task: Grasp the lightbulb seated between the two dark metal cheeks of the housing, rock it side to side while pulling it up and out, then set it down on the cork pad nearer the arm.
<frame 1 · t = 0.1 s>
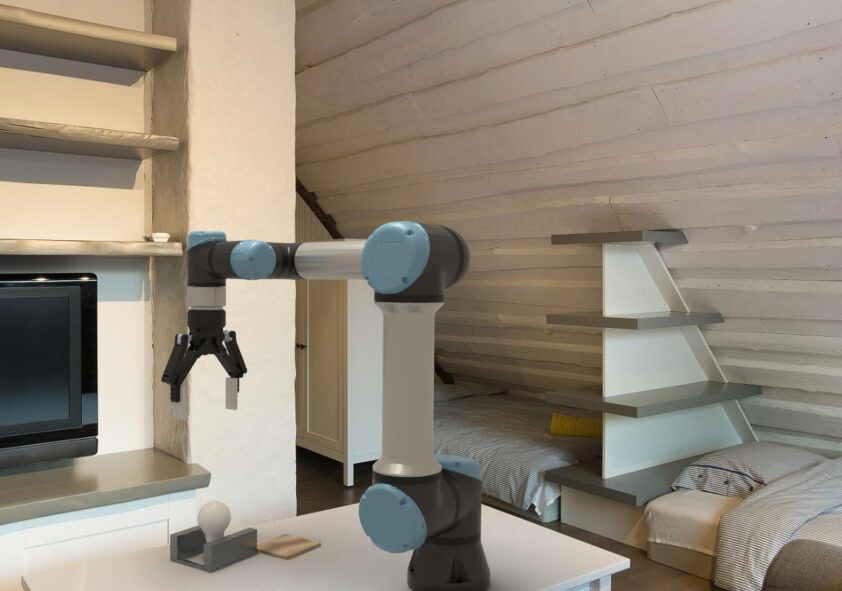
hand: (206, 413, 160), 28 cm above the table, fingers open, 13 cm apart
housing: (214, 557, 157), on the table
lightbulb: (214, 558, 157), resting in housing
cork pad: (286, 547, 163), on the table
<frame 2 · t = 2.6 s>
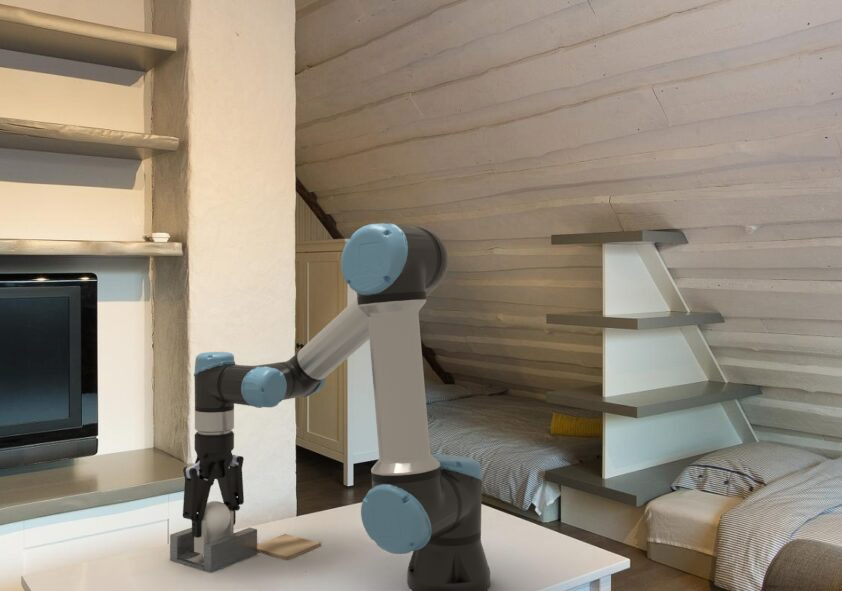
hand: (214, 547, 157), 2 cm above the table, fingers closed on lightbulb, 6 cm apart
lightbulb: (214, 558, 157), resting in housing, touching gripper
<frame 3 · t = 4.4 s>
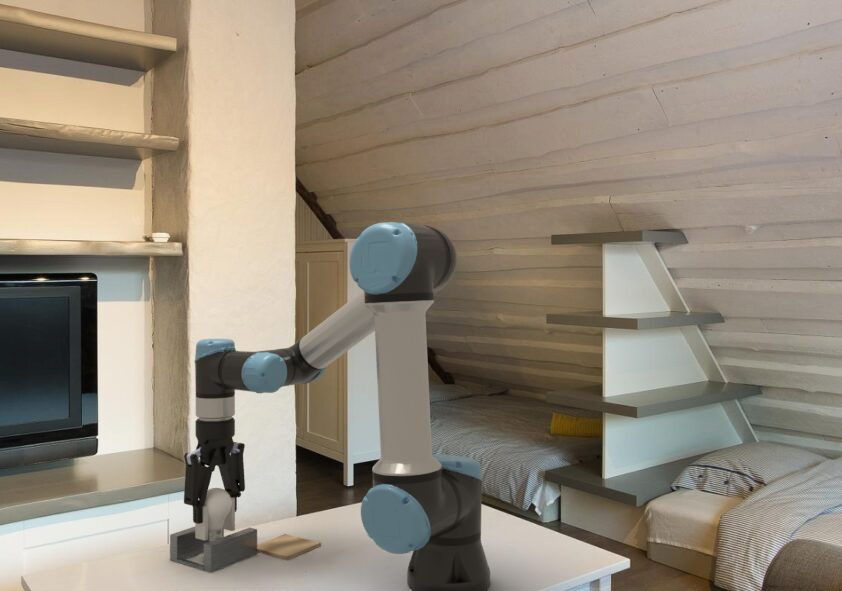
hand: (215, 533, 157), 5 cm above the table, fingers closed on lightbulb, 6 cm apart
lightbulb: (215, 544, 157), point 2 cm above the table, touching gripper
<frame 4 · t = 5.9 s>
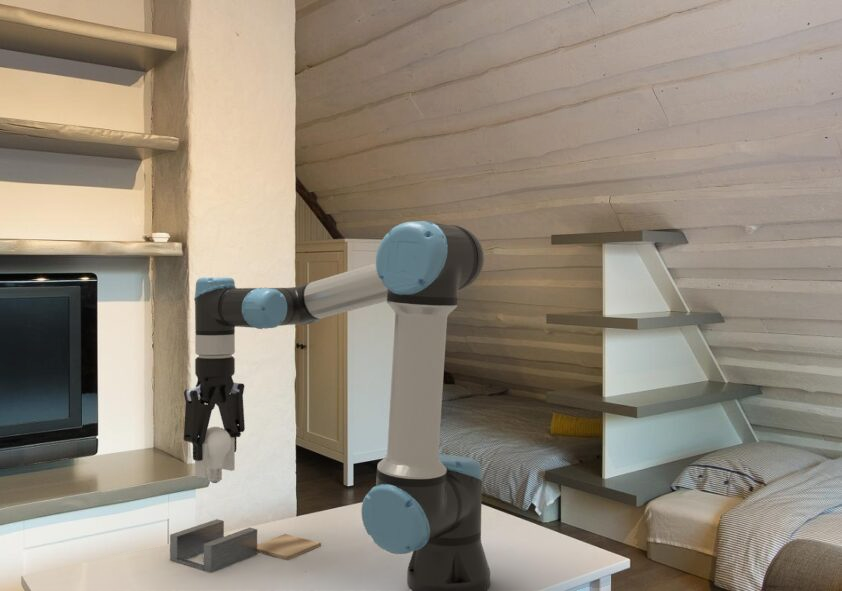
hand: (215, 472, 157), 17 cm above the table, fingers closed on lightbulb, 6 cm apart
lightbulb: (215, 483, 157), point 15 cm above the table, touching gripper
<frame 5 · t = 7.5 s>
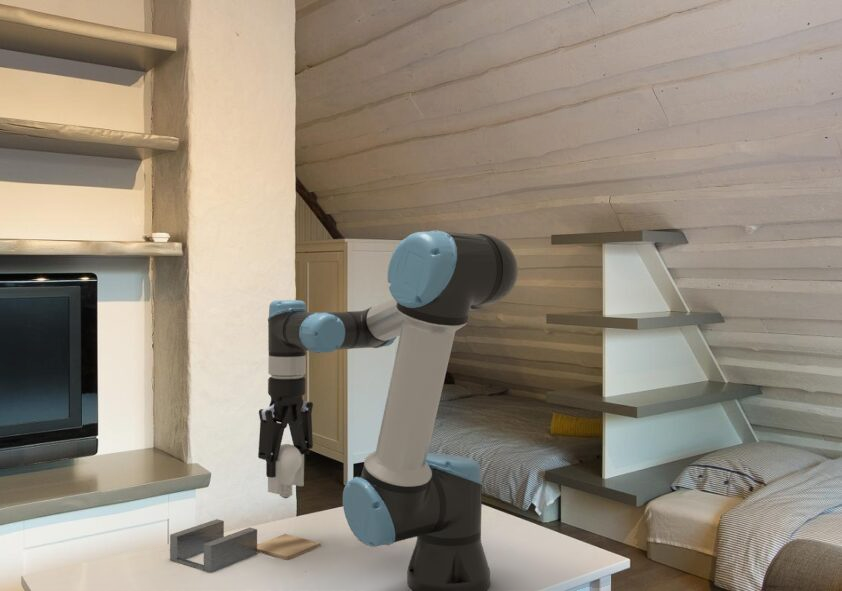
hand: (286, 488, 163), 12 cm above the table, fingers closed on lightbulb, 6 cm apart
lightbulb: (285, 498, 163), point 10 cm above the table, touching gripper
when the fingers open (4 cm above the table, at t = 9.0 s): lightbulb drops 2 cm, resting on cork pad.
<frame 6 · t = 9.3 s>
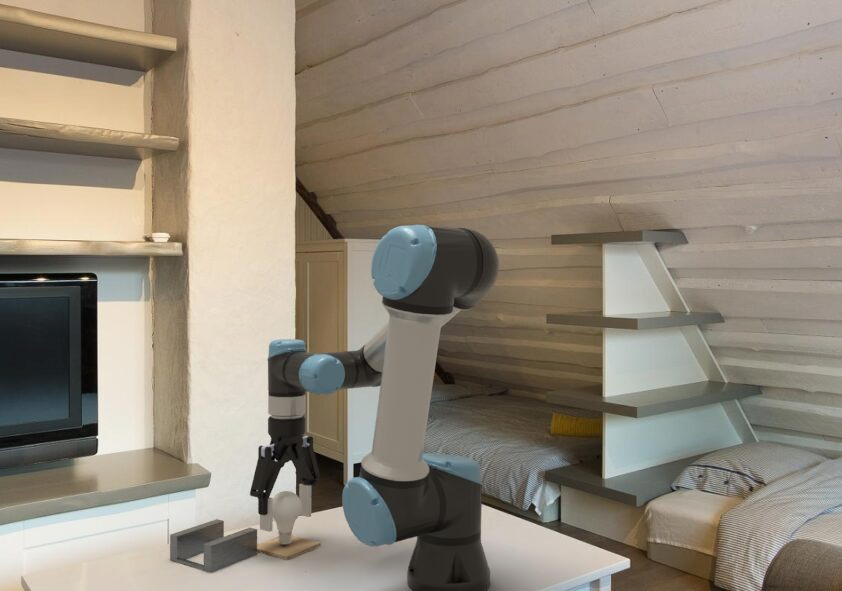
hand: (286, 522, 163), 5 cm above the table, fingers open, 11 cm apart
lightbulb: (284, 546, 163), resting on cork pad
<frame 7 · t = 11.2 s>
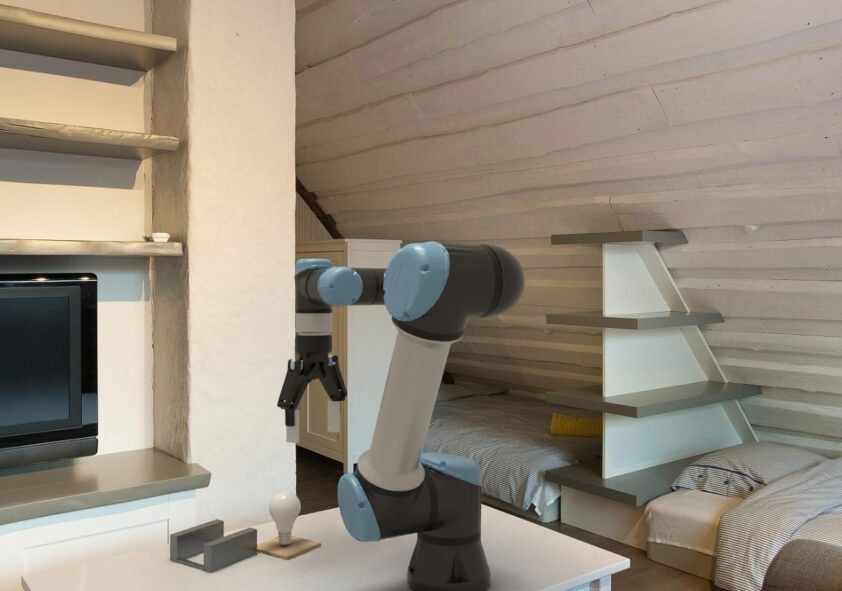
hand: (314, 437, 164), 22 cm above the table, fingers open, 13 cm apart
nothing on the table moved.
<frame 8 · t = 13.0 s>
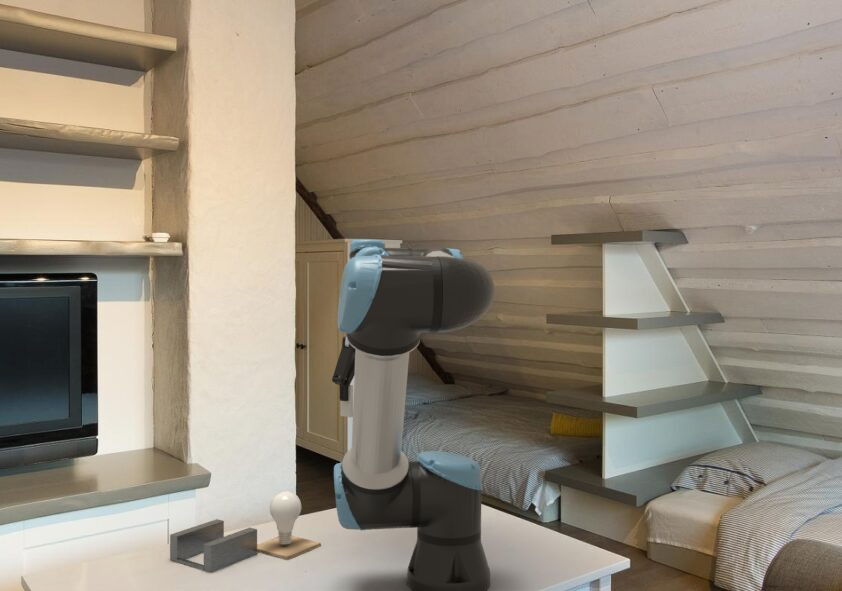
hand: (366, 412, 170), 27 cm above the table, fingers open, 13 cm apart
nothing on the table moved.
at the end: lightbulb 0.4 cm from the cork pad (horizontally); lightbulb resting on cork pad; lightbulb touching cork pad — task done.
